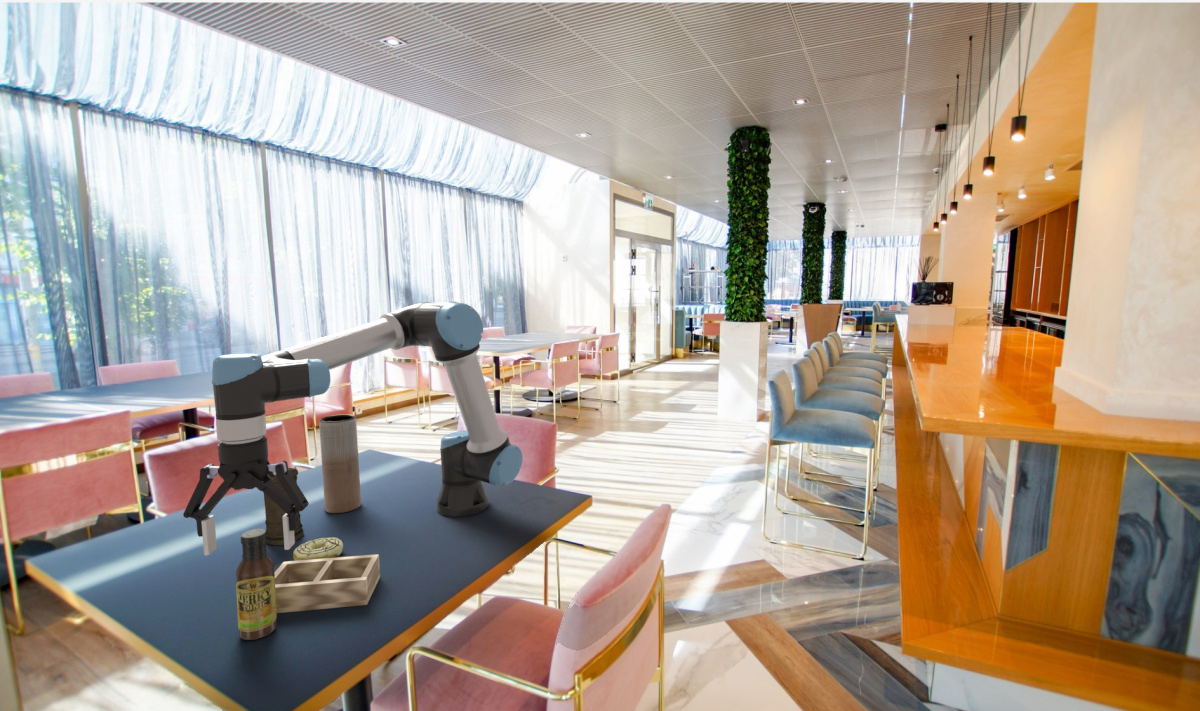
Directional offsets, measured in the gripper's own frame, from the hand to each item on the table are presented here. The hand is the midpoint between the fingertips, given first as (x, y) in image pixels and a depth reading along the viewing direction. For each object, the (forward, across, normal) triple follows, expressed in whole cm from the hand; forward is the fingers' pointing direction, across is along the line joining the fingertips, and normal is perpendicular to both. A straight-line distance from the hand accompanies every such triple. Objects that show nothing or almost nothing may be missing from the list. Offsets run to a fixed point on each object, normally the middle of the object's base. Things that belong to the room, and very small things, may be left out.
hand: (250, 549), depth 99 cm
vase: (+16, +3, -61) cm, 64 cm away
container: (+17, +12, -42) cm, 47 cm away
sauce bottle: (+17, 0, 0) cm, 17 cm away
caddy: (+17, -8, -12) cm, 22 cm away
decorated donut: (+17, -1, -29) cm, 34 cm away
